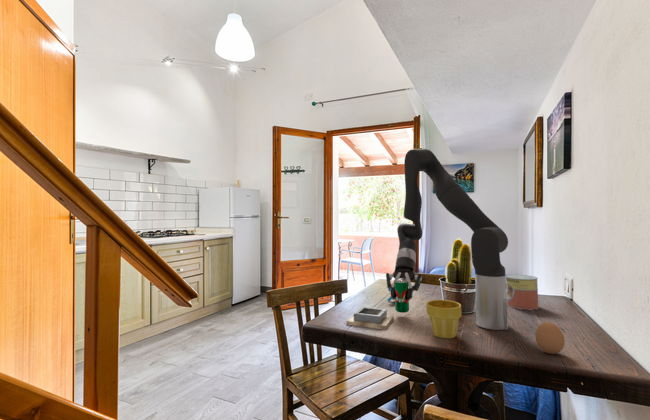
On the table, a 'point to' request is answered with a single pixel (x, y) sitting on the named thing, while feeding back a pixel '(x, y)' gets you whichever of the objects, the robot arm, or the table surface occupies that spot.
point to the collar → (370, 315)
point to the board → (383, 325)
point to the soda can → (401, 295)
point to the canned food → (522, 291)
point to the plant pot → (444, 317)
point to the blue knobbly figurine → (390, 291)
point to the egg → (549, 338)
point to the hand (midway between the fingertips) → (400, 298)
